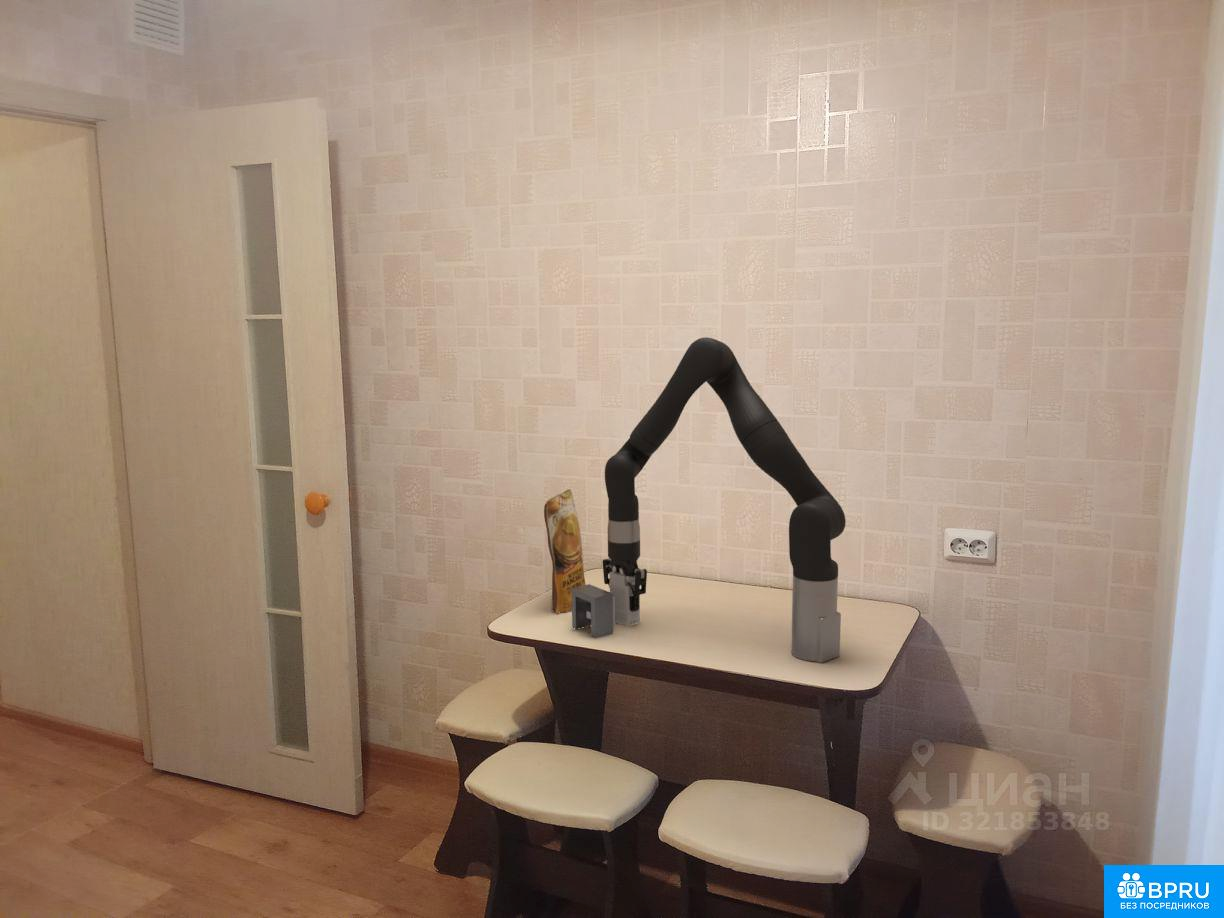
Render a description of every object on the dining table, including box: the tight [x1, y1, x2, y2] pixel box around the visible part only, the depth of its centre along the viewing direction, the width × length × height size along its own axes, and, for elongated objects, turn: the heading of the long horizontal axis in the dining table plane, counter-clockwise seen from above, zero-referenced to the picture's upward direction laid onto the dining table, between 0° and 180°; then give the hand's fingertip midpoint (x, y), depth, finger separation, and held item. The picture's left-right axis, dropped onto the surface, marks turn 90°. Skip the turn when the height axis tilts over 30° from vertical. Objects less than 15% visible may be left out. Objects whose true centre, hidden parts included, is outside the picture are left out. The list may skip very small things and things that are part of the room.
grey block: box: [586, 596, 616, 628], centre depth 213 cm, size 10×6×7 cm, turn 37°
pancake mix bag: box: [543, 489, 587, 615], centre depth 227 cm, size 7×19×28 cm, turn 156°
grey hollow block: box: [571, 583, 614, 640], centre depth 213 cm, size 12×11×10 cm
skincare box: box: [608, 572, 641, 627], centre depth 215 cm, size 6×4×12 cm
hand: (624, 606), depth 215 cm, fingers closed on skincare box, 6 cm apart
